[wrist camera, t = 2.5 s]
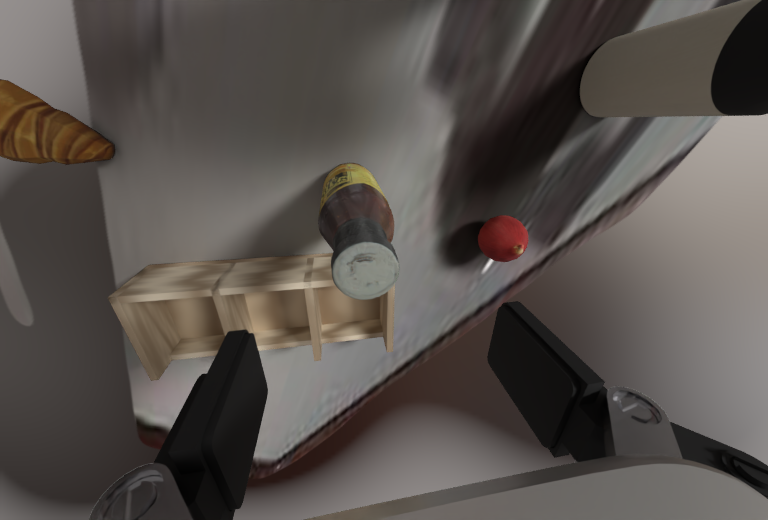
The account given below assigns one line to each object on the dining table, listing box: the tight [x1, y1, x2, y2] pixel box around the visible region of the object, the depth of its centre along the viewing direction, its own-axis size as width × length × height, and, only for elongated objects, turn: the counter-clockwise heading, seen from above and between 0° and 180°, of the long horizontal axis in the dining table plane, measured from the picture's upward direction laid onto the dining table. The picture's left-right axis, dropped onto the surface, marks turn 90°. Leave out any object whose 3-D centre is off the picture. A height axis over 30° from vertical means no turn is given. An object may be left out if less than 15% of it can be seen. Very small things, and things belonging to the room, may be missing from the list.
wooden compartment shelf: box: [108, 253, 395, 381], centre depth 35 cm, size 29×12×7 cm, turn 90°
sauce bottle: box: [318, 163, 399, 300], centre depth 25 cm, size 6×6×20 cm
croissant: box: [0, 79, 115, 165], centre depth 24 cm, size 14×7×5 cm, turn 66°
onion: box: [478, 215, 528, 262], centre depth 36 cm, size 6×6×8 cm
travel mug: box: [580, 0, 768, 117], centre depth 25 cm, size 8×8×18 cm
